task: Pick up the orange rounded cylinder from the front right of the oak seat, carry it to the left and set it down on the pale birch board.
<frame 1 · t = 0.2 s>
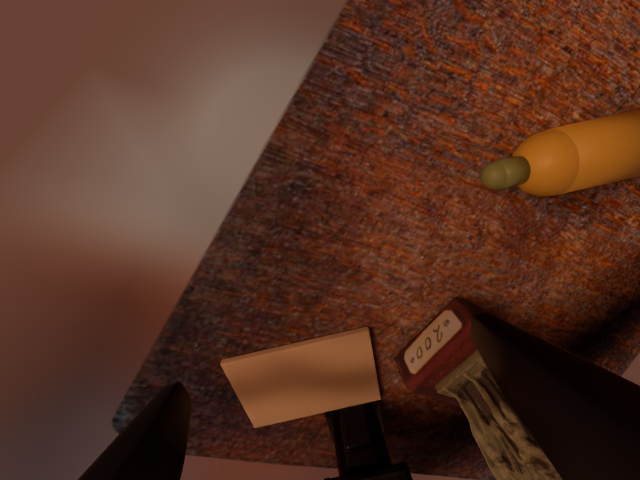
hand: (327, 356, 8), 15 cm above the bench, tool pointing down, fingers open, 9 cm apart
birch board: (306, 378, 30), on the bench
orange rounded cylinder: (565, 148, 22), on the bench
sculpture: (445, 335, 30), on the bench
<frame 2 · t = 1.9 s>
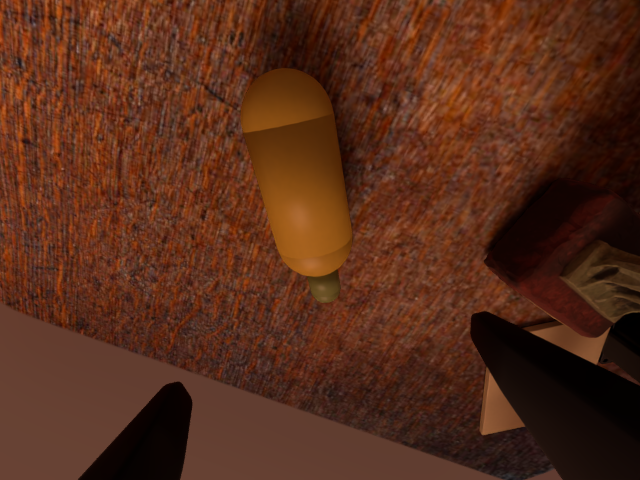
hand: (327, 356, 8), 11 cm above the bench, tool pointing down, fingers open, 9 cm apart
birch board: (536, 376, 28), on the bench
orange rounded cylinder: (301, 176, 17), on the bench
sculpture: (547, 247, 22), on the bench
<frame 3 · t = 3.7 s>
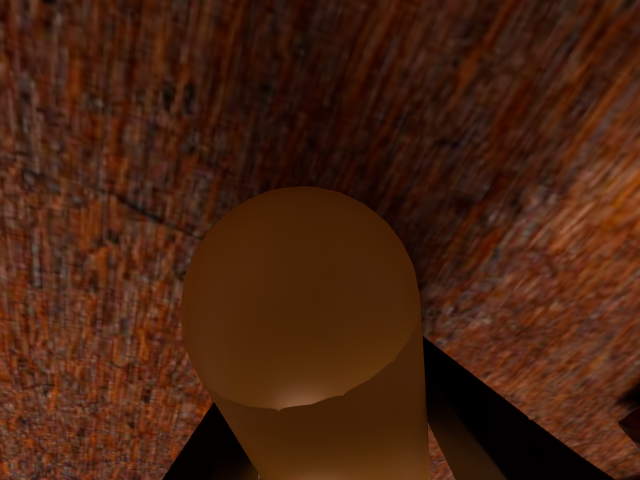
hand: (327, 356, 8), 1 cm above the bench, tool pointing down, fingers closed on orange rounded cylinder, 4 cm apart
orange rounded cylinder: (323, 331, 9), on the bench, touching gripper
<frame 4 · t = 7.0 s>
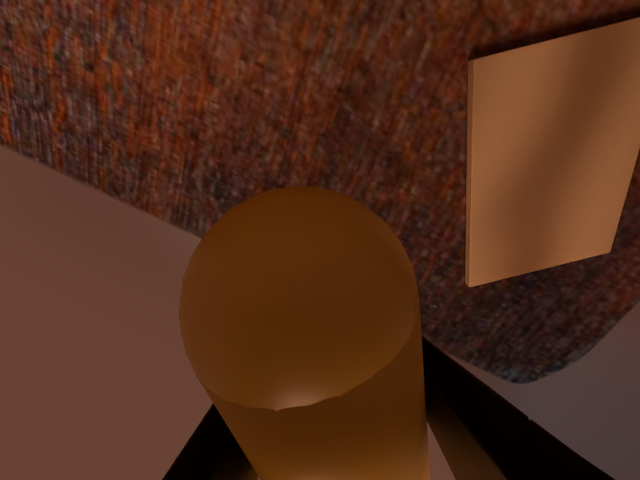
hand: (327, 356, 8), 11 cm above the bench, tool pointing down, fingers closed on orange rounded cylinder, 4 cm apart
birch board: (547, 171, 18), on the bench
orange rounded cylinder: (322, 332, 9), point 10 cm above the bench, touching gripper
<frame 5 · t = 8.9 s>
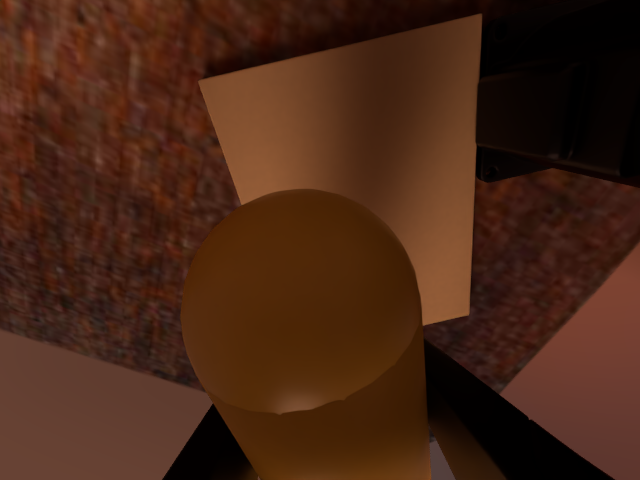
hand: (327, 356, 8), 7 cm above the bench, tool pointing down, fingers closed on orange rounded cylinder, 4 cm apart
birch board: (363, 221, 14), on the bench
orange rounded cylinder: (323, 333, 9), point 6 cm above the bench, touching gripper
when the fingers open (2 cm above the bench, at t = 10.6 s): orange rounded cylinder stays where it is, resting on birch board.
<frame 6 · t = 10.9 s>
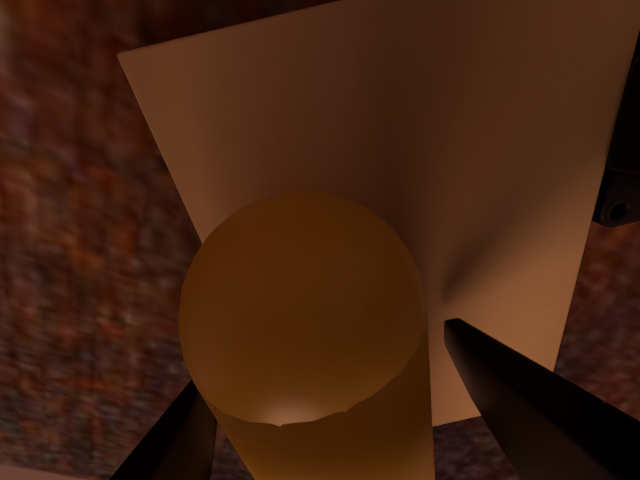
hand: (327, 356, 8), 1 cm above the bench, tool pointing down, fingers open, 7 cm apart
birch board: (405, 282, 9), on the bench
orange rounded cylinder: (325, 337, 9), point 1 cm above the bench, touching birch board
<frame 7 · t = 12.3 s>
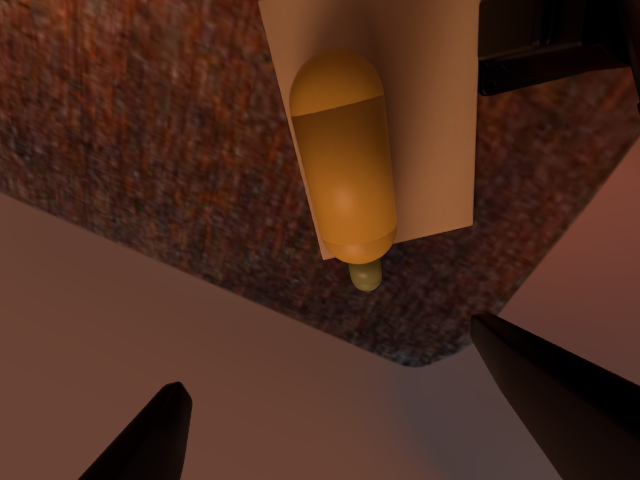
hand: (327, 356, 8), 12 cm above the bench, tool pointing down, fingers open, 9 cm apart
birch board: (383, 133, 17), on the bench
orange rounded cylinder: (340, 163, 17), point 1 cm above the bench, touching birch board
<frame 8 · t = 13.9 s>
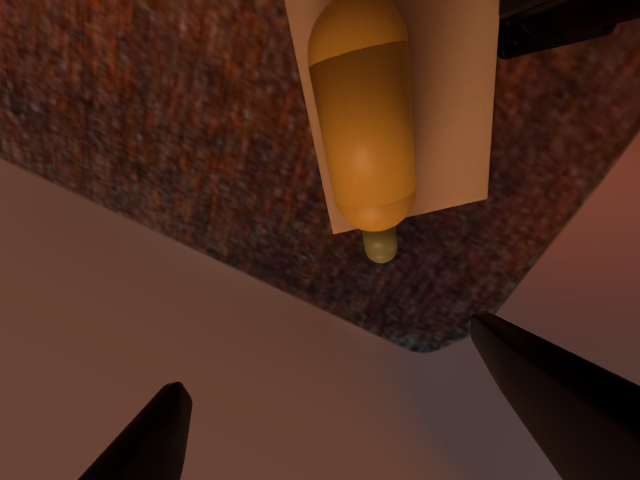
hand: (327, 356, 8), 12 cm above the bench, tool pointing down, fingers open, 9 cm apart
birch board: (398, 98, 16), on the bench
orange rounded cylinder: (354, 128, 16), point 1 cm above the bench, touching birch board
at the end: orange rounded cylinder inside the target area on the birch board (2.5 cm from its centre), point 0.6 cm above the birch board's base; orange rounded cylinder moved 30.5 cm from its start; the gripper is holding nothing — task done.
